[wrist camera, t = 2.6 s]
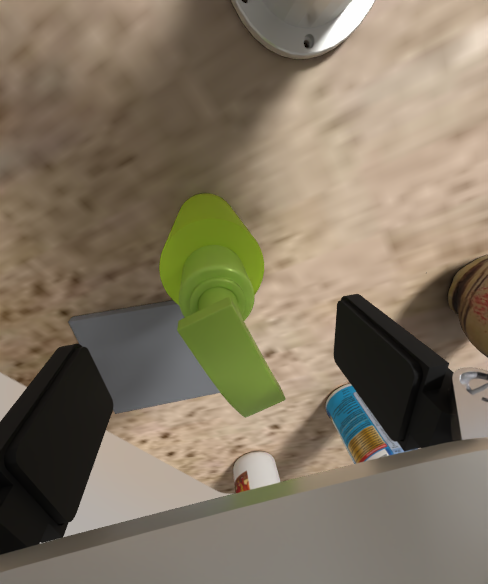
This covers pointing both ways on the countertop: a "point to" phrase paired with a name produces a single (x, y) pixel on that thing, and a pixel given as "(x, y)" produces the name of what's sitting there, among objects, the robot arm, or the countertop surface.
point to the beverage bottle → (359, 426)
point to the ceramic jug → (472, 301)
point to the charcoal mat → (142, 355)
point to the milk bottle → (255, 471)
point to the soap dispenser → (219, 299)
